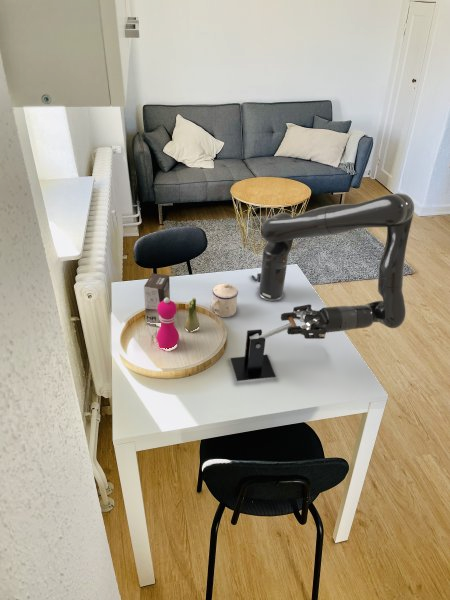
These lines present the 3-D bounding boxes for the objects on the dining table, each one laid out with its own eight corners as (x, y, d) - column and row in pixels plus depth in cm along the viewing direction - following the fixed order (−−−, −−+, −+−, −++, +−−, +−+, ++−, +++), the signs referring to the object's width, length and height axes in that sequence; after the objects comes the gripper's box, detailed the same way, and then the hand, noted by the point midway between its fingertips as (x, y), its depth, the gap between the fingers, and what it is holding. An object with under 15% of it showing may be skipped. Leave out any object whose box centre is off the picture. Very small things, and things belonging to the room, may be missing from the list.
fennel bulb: (192, 323, 160) (193, 295, 153) (203, 329, 158) (203, 301, 151) (181, 331, 156) (181, 302, 149) (191, 337, 154) (192, 308, 147)
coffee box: (163, 328, 157) (161, 289, 148) (145, 325, 158) (142, 286, 149) (171, 312, 165) (170, 275, 155) (154, 309, 165) (152, 272, 156)
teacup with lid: (222, 300, 172) (223, 274, 166) (241, 310, 168) (243, 283, 161) (201, 314, 165) (202, 287, 158) (220, 325, 160) (222, 298, 153)
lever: (293, 320, 137) (291, 314, 136) (299, 332, 133) (297, 326, 131) (250, 338, 138) (247, 332, 137) (254, 350, 134) (252, 345, 132)
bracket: (266, 357, 147) (271, 323, 139) (275, 379, 139) (280, 344, 131) (230, 361, 145) (232, 326, 137) (236, 383, 137) (240, 348, 129)
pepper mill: (182, 344, 151) (182, 294, 139) (173, 357, 145) (172, 307, 134) (163, 338, 153) (161, 289, 141) (153, 351, 147) (150, 301, 135)
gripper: (331, 295, 140) (278, 299, 137) (350, 323, 129) (293, 329, 126) (327, 314, 144) (276, 319, 141) (345, 343, 133) (290, 349, 130)
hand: (284, 323), depth 134 cm, fingers closed on lever, 6 cm apart
